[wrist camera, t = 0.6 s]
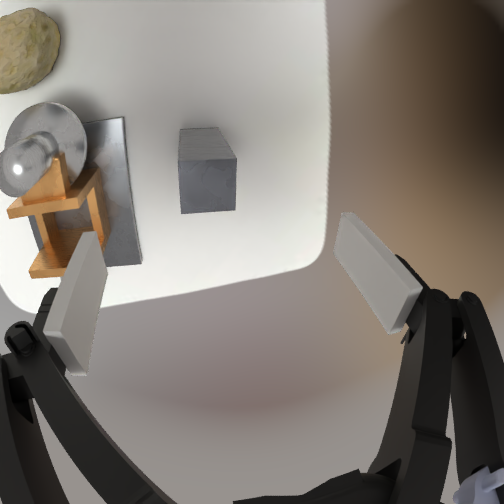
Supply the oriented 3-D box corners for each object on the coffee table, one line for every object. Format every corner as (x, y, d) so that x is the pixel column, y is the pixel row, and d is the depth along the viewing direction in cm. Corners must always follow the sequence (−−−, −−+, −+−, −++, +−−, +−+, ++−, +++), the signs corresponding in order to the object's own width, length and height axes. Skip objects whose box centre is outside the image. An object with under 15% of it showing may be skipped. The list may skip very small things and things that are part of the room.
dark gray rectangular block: (180, 129, 29) (178, 161, 19) (218, 127, 29) (236, 158, 20) (181, 164, 31) (181, 213, 21) (218, 162, 32) (235, 210, 22)
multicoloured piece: (11, 111, 22) (-52, 139, 12) (122, 85, 24) (85, 93, 15) (49, 267, 34) (21, 332, 24) (142, 259, 36) (133, 330, 27)
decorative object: (19, 90, 23) (12, 130, 19) (-28, 48, 14) (-52, 80, 10) (75, 37, 22) (79, 62, 19) (31, -13, 13) (19, -4, 10)
